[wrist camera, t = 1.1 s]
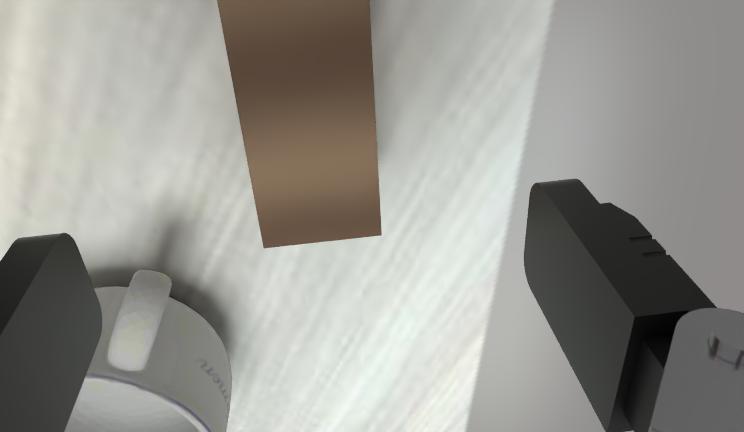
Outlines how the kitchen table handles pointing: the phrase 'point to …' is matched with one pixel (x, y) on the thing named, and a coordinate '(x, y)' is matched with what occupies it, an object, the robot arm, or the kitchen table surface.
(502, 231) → the kitchen table surface
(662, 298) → the robot arm
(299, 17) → the walnut beam
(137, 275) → the teacup
